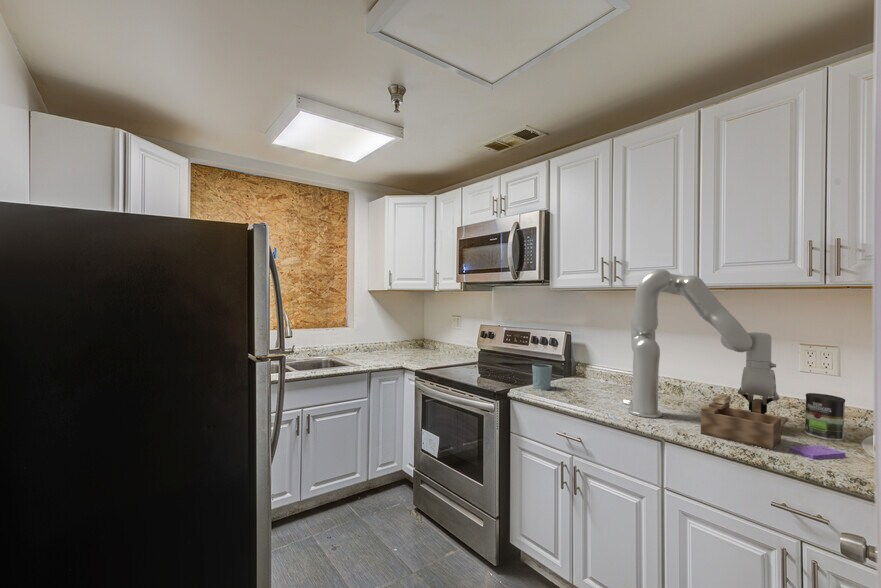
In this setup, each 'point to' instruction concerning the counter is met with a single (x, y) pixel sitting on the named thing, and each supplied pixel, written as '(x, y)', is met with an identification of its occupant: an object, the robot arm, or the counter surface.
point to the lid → (757, 409)
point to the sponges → (817, 452)
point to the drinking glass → (541, 376)
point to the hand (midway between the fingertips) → (757, 413)
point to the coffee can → (825, 416)
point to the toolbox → (740, 426)
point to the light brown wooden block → (721, 399)
